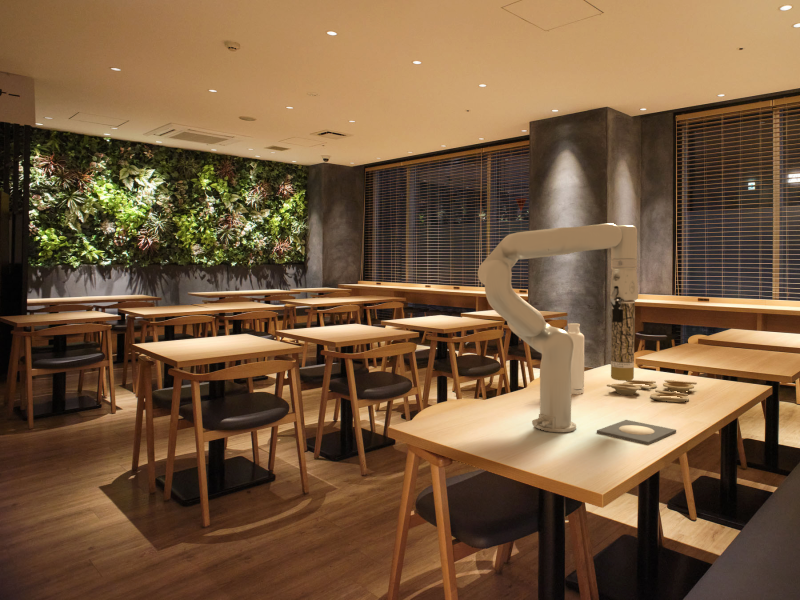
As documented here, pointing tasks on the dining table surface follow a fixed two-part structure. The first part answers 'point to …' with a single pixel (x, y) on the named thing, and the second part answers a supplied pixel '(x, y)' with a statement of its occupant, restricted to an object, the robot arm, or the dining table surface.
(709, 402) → the dining table surface
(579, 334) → the bottle
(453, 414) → the dining table surface
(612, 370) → the bark-textured tube
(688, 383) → the tableware set
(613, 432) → the card
